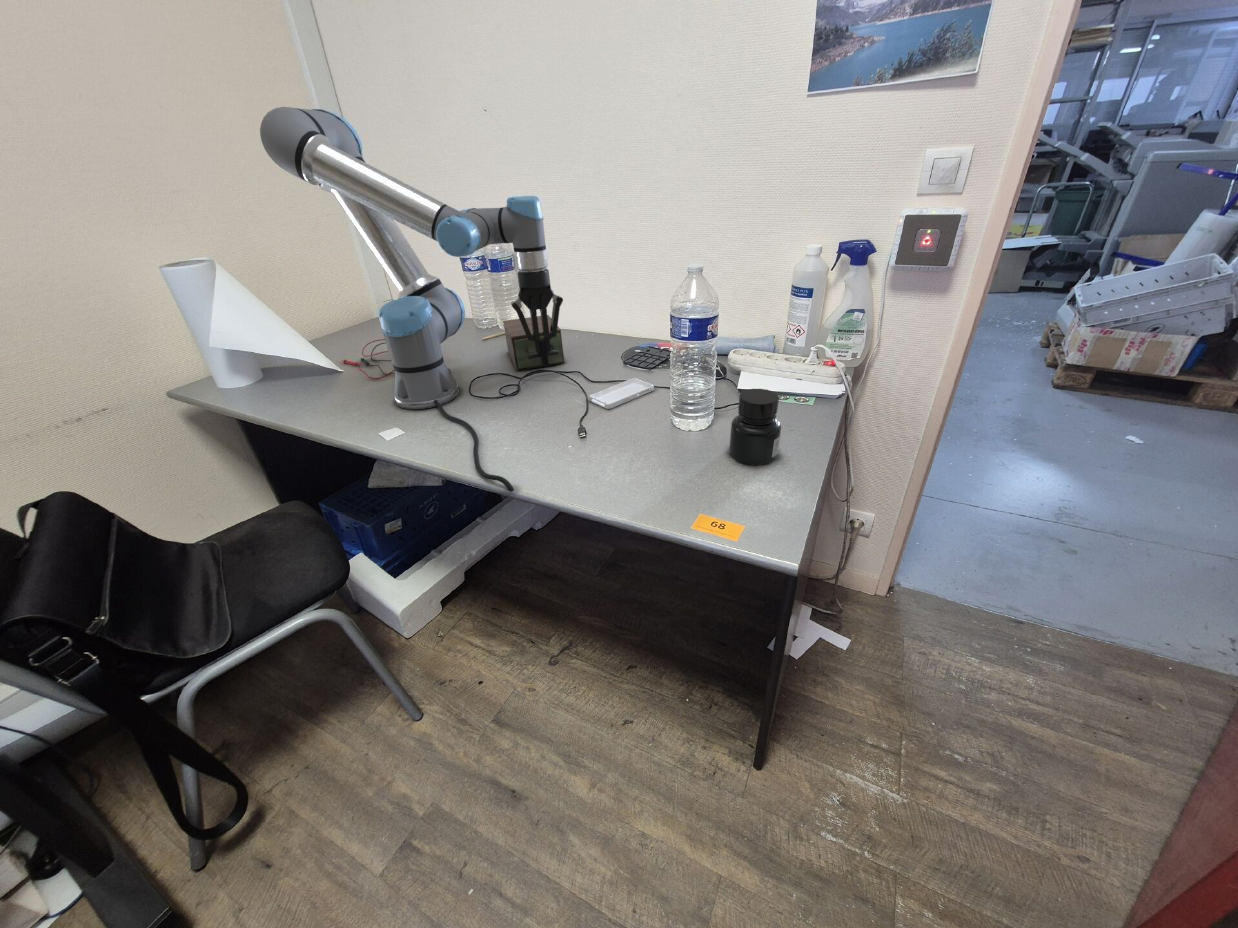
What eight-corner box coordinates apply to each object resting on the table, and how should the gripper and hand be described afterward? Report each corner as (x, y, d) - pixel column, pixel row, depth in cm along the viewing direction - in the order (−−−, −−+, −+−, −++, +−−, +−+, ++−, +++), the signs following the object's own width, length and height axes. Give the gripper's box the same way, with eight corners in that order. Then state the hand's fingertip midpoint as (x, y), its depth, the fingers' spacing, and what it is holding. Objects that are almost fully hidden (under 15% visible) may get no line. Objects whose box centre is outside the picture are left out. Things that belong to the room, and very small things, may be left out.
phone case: (634, 382, 128) (588, 400, 120) (634, 377, 127) (588, 395, 119) (654, 390, 123) (608, 410, 115) (654, 385, 122) (608, 404, 114)
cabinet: (564, 363, 142) (560, 329, 137) (516, 370, 139) (511, 336, 134) (552, 345, 156) (548, 314, 151) (508, 352, 153) (503, 321, 147)
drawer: (568, 369, 136) (565, 341, 131) (523, 377, 133) (518, 348, 128) (551, 345, 153) (548, 319, 149) (510, 351, 150) (506, 325, 146)
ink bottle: (786, 463, 92) (795, 404, 86) (741, 470, 91) (747, 411, 85) (763, 438, 100) (769, 382, 94) (721, 445, 99) (725, 388, 93)
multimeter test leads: (412, 330, 162) (442, 347, 145) (416, 343, 165) (446, 362, 148) (335, 347, 150) (358, 369, 133) (340, 362, 153) (363, 384, 136)
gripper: (556, 264, 124) (566, 356, 136) (503, 270, 121) (518, 364, 133) (562, 268, 118) (572, 365, 130) (507, 274, 115) (522, 373, 127)
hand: (545, 364), depth 131 cm, fingers closed
